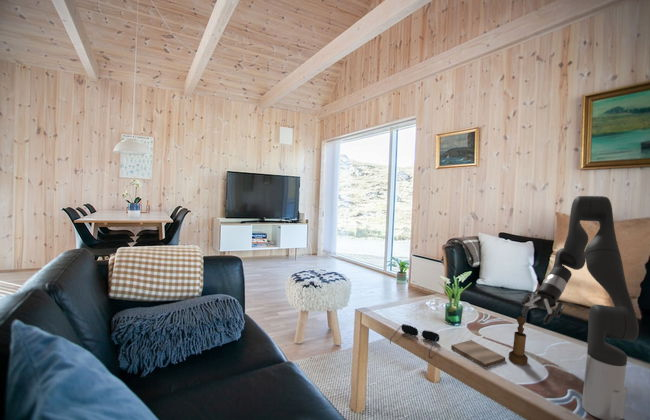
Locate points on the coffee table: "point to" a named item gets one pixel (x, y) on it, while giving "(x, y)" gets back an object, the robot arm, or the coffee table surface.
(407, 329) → the sunglasses
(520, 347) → the wooden pepper mill
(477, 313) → the coffee table surface
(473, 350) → the serving board
